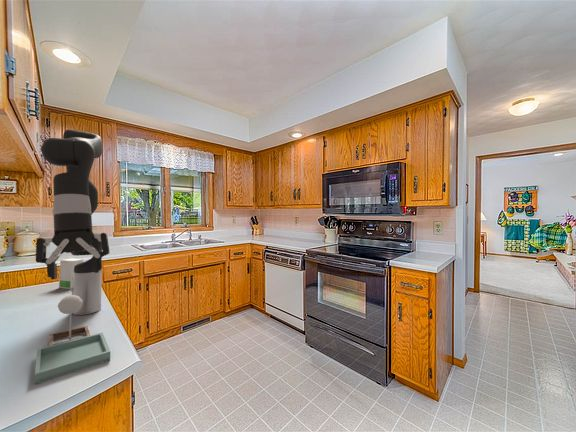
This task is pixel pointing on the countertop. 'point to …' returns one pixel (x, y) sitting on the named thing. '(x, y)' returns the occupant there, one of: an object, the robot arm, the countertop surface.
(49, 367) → the tray
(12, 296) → the countertop surface
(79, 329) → the square wooden frame
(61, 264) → the skincare box
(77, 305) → the lollipop
